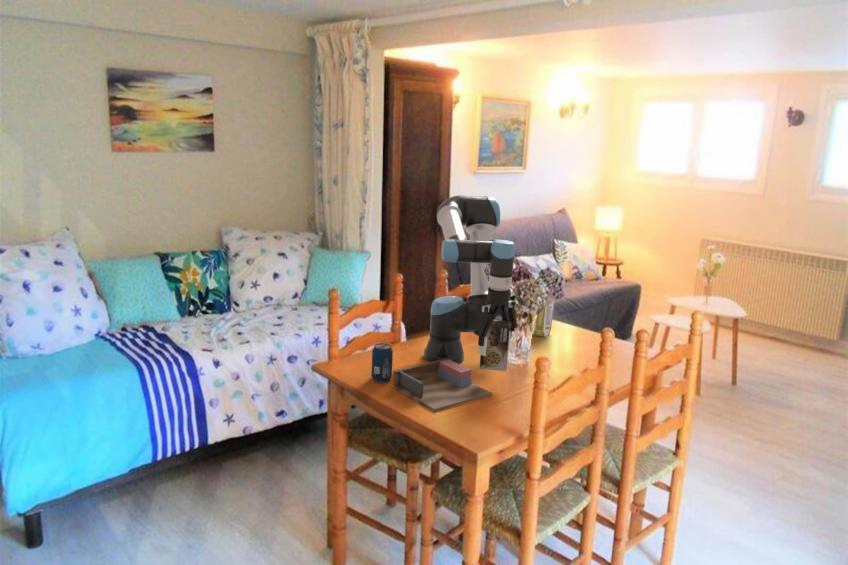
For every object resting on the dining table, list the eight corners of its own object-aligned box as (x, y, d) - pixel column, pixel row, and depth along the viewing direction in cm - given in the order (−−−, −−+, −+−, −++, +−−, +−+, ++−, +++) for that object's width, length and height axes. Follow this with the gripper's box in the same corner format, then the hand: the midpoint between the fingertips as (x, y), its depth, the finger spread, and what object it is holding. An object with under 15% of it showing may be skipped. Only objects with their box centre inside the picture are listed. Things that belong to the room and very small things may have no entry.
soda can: (378, 373, 221) (379, 341, 218) (395, 378, 218) (396, 345, 215) (367, 380, 215) (368, 346, 212) (384, 384, 212) (386, 350, 209)
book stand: (392, 387, 210) (393, 370, 208) (447, 373, 224) (448, 357, 223) (434, 412, 193) (435, 394, 191) (491, 395, 208) (492, 378, 206)
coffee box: (506, 364, 216) (510, 319, 212) (506, 371, 210) (510, 325, 206) (479, 362, 217) (483, 317, 213) (478, 369, 211) (482, 323, 207)
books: (437, 375, 219) (438, 362, 218) (448, 372, 222) (449, 359, 221) (460, 387, 210) (461, 373, 209) (471, 384, 213) (472, 370, 212)
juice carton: (551, 333, 277) (556, 291, 272) (547, 338, 269) (551, 295, 265) (534, 330, 280) (538, 288, 275) (529, 335, 272) (533, 292, 268)
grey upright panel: (398, 385, 209) (398, 371, 208) (400, 385, 209) (400, 371, 208) (420, 398, 200) (421, 383, 199) (422, 397, 200) (423, 383, 199)
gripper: (482, 295, 197) (476, 361, 202) (532, 286, 210) (525, 348, 216) (465, 289, 202) (461, 354, 208) (515, 281, 216) (510, 342, 222)
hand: (494, 351), depth 212 cm, fingers closed on coffee box, 10 cm apart
